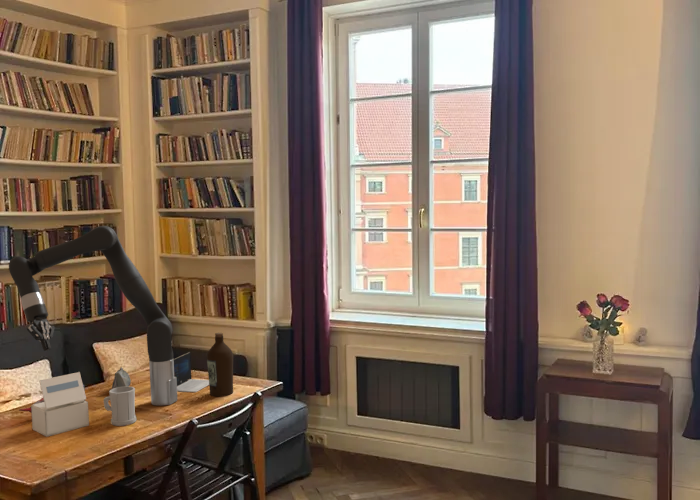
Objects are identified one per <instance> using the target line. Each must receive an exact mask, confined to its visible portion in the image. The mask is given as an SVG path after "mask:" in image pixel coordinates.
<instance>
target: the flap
mask: <svg viewBox="0 0 700 500" xmlns="http://www.w3.org/2000/svg"><path fill="white" fill-rule="evenodd" d="M83 384H84V382H83V380H82V377H81V372H80V371H78V372H77V371H76V372H74V373H68V374H63V375H58V376H54V377H49V378H48V377H47V378H44V379H40V380H39V385H40V390H41V394H42V398H43V399H44V403H45V407H46V409H48V408H52V407H56V406H60V405H64V404H68V403H73V402H77V401H81V400H85V401H86V400H87V396H86V392H85V391H86V390H85V391H84V387H85V386H84V387H83Z"/></svg>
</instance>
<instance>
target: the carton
mask: <svg viewBox="0 0 700 500" xmlns="http://www.w3.org/2000/svg"><path fill="white" fill-rule="evenodd" d="M32 405H33V406H32ZM32 405H31V406H30V407H31V412H30V413H31V425H32V426H31V428H32V430H33V431H34V432H37V433H39V434H41V435H42V436H44V437H46V438H47V437H52V436H55V435H58V434H63V433H66V432H69V431H73V430H76V429H77V430H78V429H81V428H84V427H89V426H90V415H89V402H88V401H86V399H85V400H81V401H77V402H73V403H68V404H64V405H60V406H56V407H52V408H48V409H46V407H45V403H44V402H42V403H37V404H34V403H33V404H32Z"/></svg>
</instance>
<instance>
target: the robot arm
mask: <svg viewBox="0 0 700 500" xmlns="http://www.w3.org/2000/svg"><path fill="white" fill-rule="evenodd" d="M96 251H100V252H101V253H102V255H104V257H105V258H106V260H107V262H108V264H109V266H110V268H111V271H112V273H113V274H112V275H113V277H114V279H115V282H116V284H117V285H118V288H119V289H120V291H121V293H122V294H123V295H124V297H125V298H126V300H127V301H128V302H129V303H130V304H131V305H132V306H133V307H134V308H135V309H136V310H137V311H138V313H140V315H141V317H142V318H143V320H144V322H145V324H146V326H147V329H146V345H147V346H146V347H147V355H148V364H149V366H148V367H149V381H150V383H149V385H150V386H149V387H150V400H151V401H150V402H151V405H153V406H167V405H172V404H174V403H176V402H177V401H178V392H177V378H176V377H174V361H173V359H174V350H173V345H172V344H173V343H172V334H173V331H174V329H173V328H174V327H173V324H172V322H171V321H170V320H169V318H168V317H167V315H165V313H164V312H163V311H162V309H161V308H160V306H159V305H158V304H157V302H156V300H155V298H154V296H153V294H152V292H151V290H150V289H149V286H148V284H147V282H146V281H145V279H144V278H143V276H142V275H141V273H140V272H139V270H138V269H137V267H136V266H135V264H134V263H133V262H132V260H131V259H130V257H129V255H127V253H126V252H125V249H124V247H123V246H122V243H121V241H120V239H119V237H118V235H117V233H116V231H115V229H113V228H112V227H111V226H108V225H99V226H96V227H95V228H93V229H92V230H89V232H86V233H84V234H83V235H81V236H79V237H77V238H75V239H72V240H68V241H66V242H63V243H60V244H57V245H56V244H55V245H53V246H49V247H48V248H44V249H42V250H39V251H37V252H36V253H35V254H34V256H33V257H30V258H25V257H24V256H19V255H18V256H14V257H13V258H11V259H10V260H9V263H8V270H9V271H8V272H9V273H10V274H9V275H10V276H11V278H12V280H13V282H14V284H15V285H16V288H17V290H18V294H19V298H20V302H21V307H22V310H23V313H24V315H25V319H26V322H27V323H29V326H27V327H26V331H27V332H28V333H29V334H30V335H31V336H32V337H33V338H34V339H35V340H36V341H39V342H40V344H41V348H42V349H43V351H44V352H48V351H50V350H52V344H51V343H50V339H52V338H53V337H54V334H55V333H54V332H55V326H54V325H50V322H49V320H48V317H49V313H48V309H47V307H46V303H45V300H44V298H43V295H42V293H41V290H40V287H39V284H38V282H37V281H36V280H35V278H34V277H33V276H35V275H37V274H39V273H41V272H42V271H44V270H45V269H48V268H51V267H54V266H57V265H59V264H61V263H64V262H66V261H67V262H68V261H69V260H71V259H73V258H76V257H78V256H81V255H83V254H86V253H91V252H96Z"/></svg>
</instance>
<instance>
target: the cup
mask: <svg viewBox="0 0 700 500" xmlns="http://www.w3.org/2000/svg"><path fill="white" fill-rule="evenodd" d="M135 392H136V388H135V387H134V386H127V387H118V388H114V389H112V388H111V389H110V390H109V391H108V393H109V395H108V396H106V397H104V398H103V404H104V405H103V407H104V409H105V410H106V411H109V412H111V419H110V425H113V426H117V427H123V426H129V425H133V424H135V422H136V421H137V415H136V412H135V410H136V409H135V401H136V398H135V395H136V393H135ZM109 401H110V404H109Z"/></svg>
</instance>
